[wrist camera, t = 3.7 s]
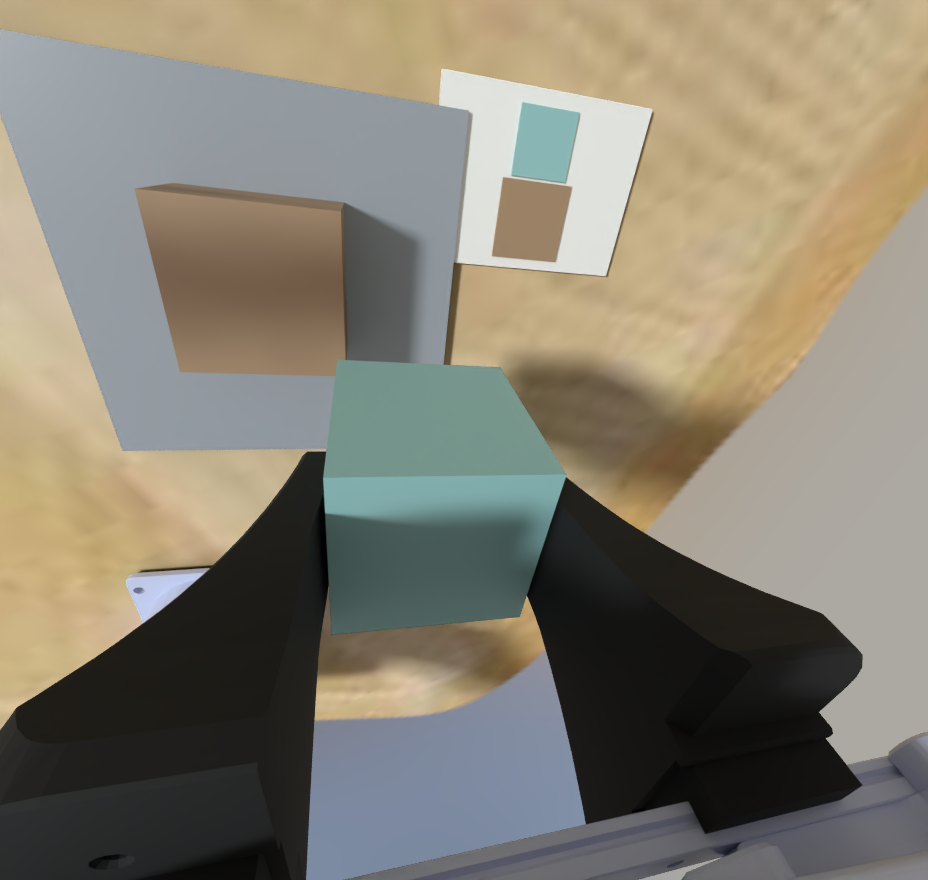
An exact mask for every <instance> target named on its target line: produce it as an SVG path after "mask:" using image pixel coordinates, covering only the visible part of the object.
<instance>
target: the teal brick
mask: <svg viewBox="0 0 928 880" xmlns="http://www.w3.org/2000/svg"><path fill="white" fill-rule="evenodd" d="M566 475H567V474H566V473H565V471H564V470H563V468H562V466H561V465H560V463H559V462H558V460H557V458H556V457H555V455H554V453H553V452H552V450H551V449H550V447H549V445H548V444H547V442H546V441H545V439H544V437H543V436H542V434H541V433H540V431H539V429H538V428H537V426H536V425H535V423H534V421H533V420H532V418H531V417H530V415H529V413H528V412H527V410H526V409H525V407H524V405H523V404H522V402H521V400H520V399H519V397H518V396H517V394H516V392H515V391H514V389H513V388H512V386H511V384H510V383H509V381H508V380H507V378H506V376H505V375H504V373H503V372H502V370H501V368H500V367H481V366H459V365H438V364H417V363H396V362H375V361H354V360H337V366H336V375H335V383H334V392H333V400H332V408H331V417H330V425H329V434H328V442H327V450H326V459H325V467H324V476H323V483H324V502H325V521H326V540H327V559H328V578H329V597H330V616H331V635H335V634H346V633H356V632H367V631H377V630H388V629H398V628H409V627H420V626H430V625H441V624H451V623H462V622H472V621H483V620H493V619H504V618H514V617H520V614H521V611H522V608H523V605H524V602H525V599H526V596H527V593H528V590H529V587H530V584H531V581H532V578H533V575H534V572H535V569H536V566H537V563H538V560H539V557H540V554H541V551H542V548H543V544H544V541H545V538H546V535H547V532H548V529H549V526H550V523H551V520H552V517H553V514H554V511H555V508H556V505H557V502H558V499H559V496H560V493H561V490H562V487H563V484H564V481H565V478H566Z"/></svg>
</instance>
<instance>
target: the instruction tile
mask: <svg viewBox="0 0 928 880" xmlns="http://www.w3.org/2000/svg"><path fill="white" fill-rule="evenodd" d="M439 105H440V106H446V107H451V108H457V109H463V110H469V115H468V125H467V135H466V145H465V155H464V165H463V175H462V184H461V194H460V204H459V214H458V224H457V234H456V244H455V254H454V263H464V264H475V265H486V266H498V267H509V268H520V269H531V270H543V271H554V272H565V273H576V274H587V275H599V276H606V274H607V270H608V267H609V263H610V260H611V256H612V253H613V249H614V245H615V242H616V238H617V235H618V231H619V228H620V224H621V221H622V217H623V213H624V210H625V206H626V203H627V199H628V196H629V192H630V189H631V185H632V181H633V178H634V174H635V171H636V167H637V164H638V160H639V157H640V153H641V149H642V146H643V142H644V139H645V135H646V132H647V128H648V125H649V121H650V117H651V114H652V110H653V109H650V108H644V107H639V106H634V105H629V104H624V103H619V102H613V101H608V100H603V99H598V98H593V97H588V96H582V95H577V94H572V93H567V92H562V91H556V90H551V89H546V88H541V87H536V86H531V85H525V84H520V83H515V82H510V81H505V80H500V79H494V78H489V77H484V76H479V75H474V74H469V73H463V72H458V71H453V70H448V69H443V68H442V69H441V80H440V94H439Z"/></svg>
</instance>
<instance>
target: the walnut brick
mask: <svg viewBox="0 0 928 880" xmlns="http://www.w3.org/2000/svg"><path fill="white" fill-rule="evenodd" d="M135 193H136V197H137V201H138V205H139V209H140V213H141V217H142V221H143V225H144V229H145V233H146V237H147V241H148V245H149V249H150V253H151V257H152V261H153V265H154V269H155V273H156V277H157V281H158V285H159V289H160V293H161V297H162V302H163V306H164V310H165V314H166V318H167V322H168V326H169V330H170V334H171V338H172V342H173V346H174V350H175V354H176V358H177V362H178V366H179V370H180V372H190V373H229V374H267V375H306V376H335V375H336V366H337V360H347V350H348V341H347V301H346V262H345V223H344V202H336V201H328V200H319V199H310V198H302V197H293V196H284V195H275V194H267V193H258V192H249V191H241V190H232V189H223V188H215V187H206V186H197V185H188V184H180V183H168V184H161V185H155V186H149V187H142V188H136V189H135Z"/></svg>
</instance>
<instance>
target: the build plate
mask: <svg viewBox="0 0 928 880" xmlns="http://www.w3.org/2000/svg"><path fill="white" fill-rule="evenodd" d="M0 115H1V118H2V120H3V123H4V126H5V129H6V131H7V134H8V137H9V140H10V142H11V145H12V148H13V151H14V153H15V156H16V159H17V162H18V164H19V167H20V170H21V173H22V175H23V178H24V181H25V184H26V186H27V189H28V192H29V195H30V197H31V200H32V203H33V206H34V208H35V211H36V214H37V217H38V219H39V222H40V225H41V228H42V230H43V233H44V236H45V239H46V241H47V244H48V247H49V250H50V252H51V255H52V258H53V261H54V263H55V266H56V269H57V272H58V274H59V277H60V280H61V283H62V285H63V288H64V291H65V294H66V296H67V299H68V302H69V305H70V307H71V310H72V313H73V316H74V318H75V321H76V324H77V327H78V329H79V332H80V335H81V338H82V340H83V343H84V346H85V349H86V351H87V354H88V357H89V360H90V362H91V365H92V368H93V371H94V373H95V376H96V379H97V382H98V384H99V387H100V390H101V393H102V395H103V398H104V401H105V404H106V406H107V409H108V412H109V415H110V417H111V420H112V423H113V426H114V428H115V431H116V434H117V437H118V439H119V442H120V445H121V448H122V450H123V451H153V450H243V449H327V442H328V434H329V425H330V417H331V408H332V400H333V392H334V383H335V376H306V375H267V374H229V373H190V372H180V370H179V366H178V362H177V358H176V354H175V350H174V346H173V342H172V338H171V334H170V330H169V326H168V322H167V318H166V314H165V310H164V306H163V302H162V297H161V293H160V289H159V285H158V281H157V277H156V273H155V269H154V265H153V261H152V257H151V253H150V249H149V245H148V241H147V237H146V233H145V229H144V225H143V221H142V217H141V213H140V209H139V205H138V201H137V197H136V193H135V189H136V188H142V187H149V186H155V185H161V184H168V183H180V184H188V185H197V186H206V187H215V188H223V189H232V190H241V191H249V192H258V193H267V194H275V195H284V196H293V197H302V198H310V199H319V200H328V201H336V202H344V223H345V262H346V301H347V341H348V350H347V360H354V361H375V362H396V363H417V364H438V365H443V364H444V354H445V344H446V334H447V324H448V314H449V304H450V294H451V284H452V274H453V264H454V254H455V244H456V234H457V224H458V214H459V204H460V194H461V184H462V175H463V165H464V155H465V145H466V135H467V125H468V115H469V110H463V109H457V108H451V107H446V106H440V105H434V104H428V103H423V102H417V101H411V100H405V99H399V98H394V97H388V96H382V95H376V94H371V93H365V92H359V91H353V90H347V89H342V88H336V87H330V86H324V85H318V84H313V83H307V82H301V81H295V80H290V79H284V78H278V77H272V76H266V75H261V74H255V73H249V72H243V71H238V70H232V69H226V68H220V67H214V66H209V65H203V64H197V63H191V62H186V61H180V60H174V59H168V58H162V57H157V56H151V55H145V54H139V53H134V52H128V51H122V50H116V49H110V48H105V47H99V46H93V45H87V44H82V43H76V42H70V41H64V40H58V39H53V38H47V37H41V36H35V35H29V34H24V33H18V32H12V31H6V30H1V29H0Z"/></svg>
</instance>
